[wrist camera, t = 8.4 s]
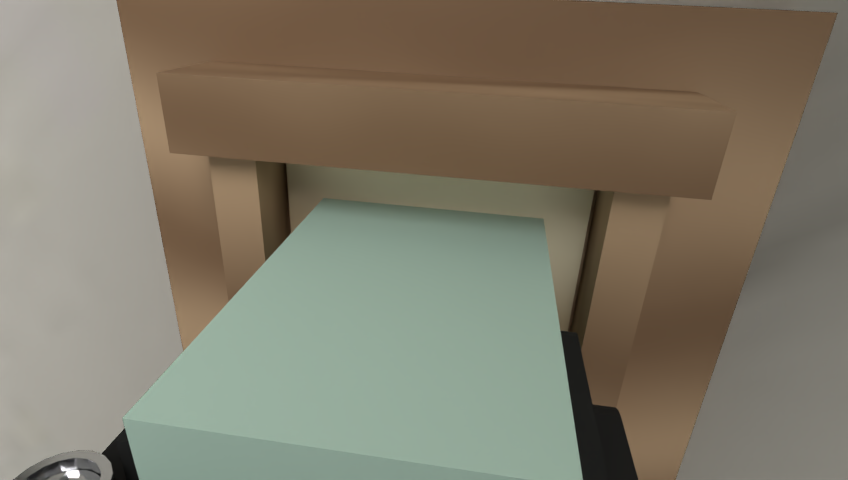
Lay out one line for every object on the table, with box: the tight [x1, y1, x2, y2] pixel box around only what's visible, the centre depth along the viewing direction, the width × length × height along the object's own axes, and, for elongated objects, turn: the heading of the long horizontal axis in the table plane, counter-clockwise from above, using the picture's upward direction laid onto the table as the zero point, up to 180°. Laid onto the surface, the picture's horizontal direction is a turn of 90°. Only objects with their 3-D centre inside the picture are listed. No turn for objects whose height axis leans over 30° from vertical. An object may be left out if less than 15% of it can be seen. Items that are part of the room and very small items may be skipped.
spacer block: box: [122, 198, 583, 480], centre depth 10 cm, size 5×5×7 cm
